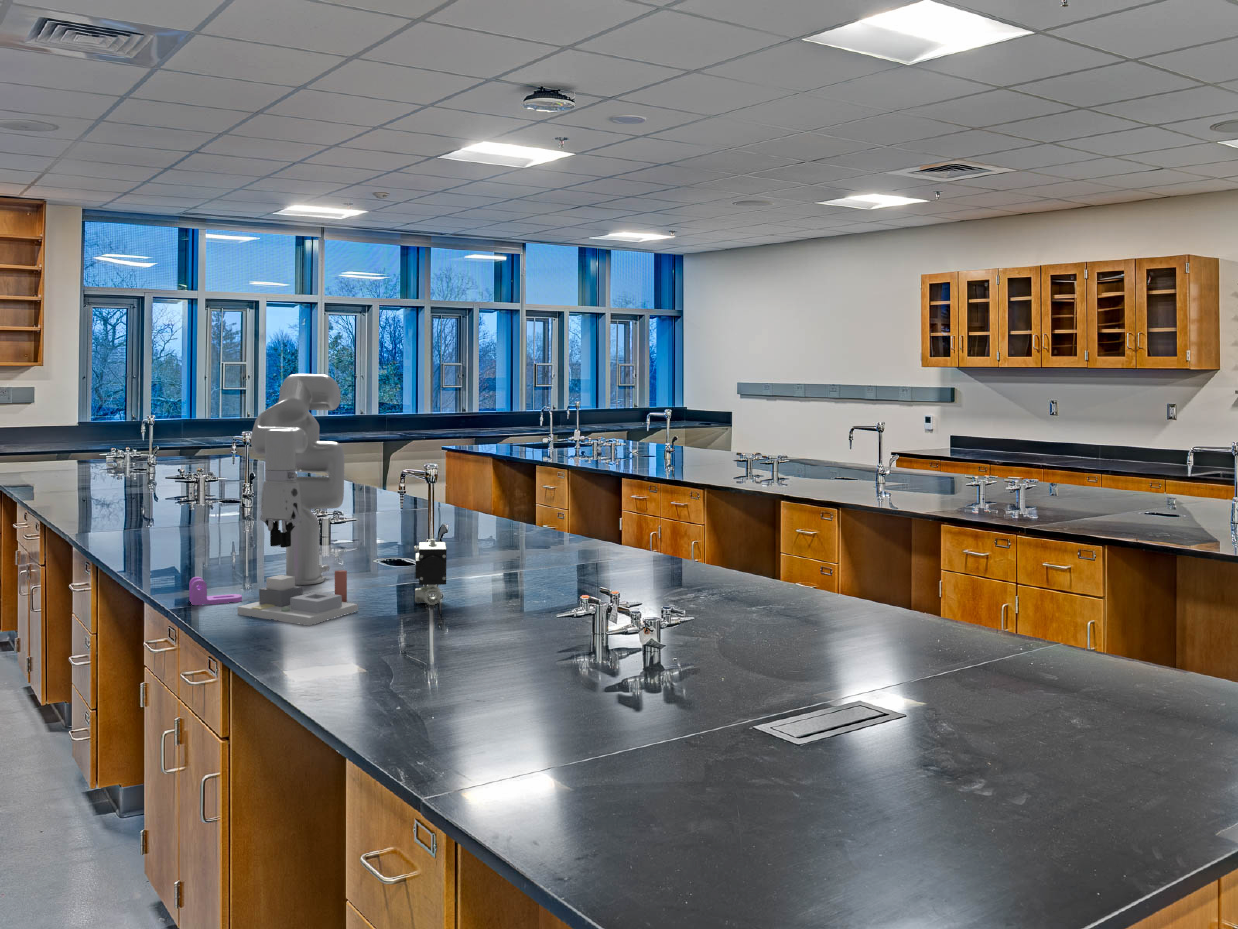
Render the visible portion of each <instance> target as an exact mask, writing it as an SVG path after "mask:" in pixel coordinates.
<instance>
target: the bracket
mask: <svg viewBox="0 0 1238 929" xmlns="http://www.w3.org/2000/svg"><path fill="white" fill-rule="evenodd" d="M188 584H189V587H188V588H189V590H188V591H189V594H188V597H189V598H188V599H189V601H190V602H191V604H192V605H199V606H203V605H202V604H212V605H220V604H219V603H224V604H229V603H228V602H235V603H240V602H242V600H243V595H242V594H239V593H231V594H229V593H228V594H217V595H208V586H207V583H206V581H205V580H204V579H203V578H202V577H201V576H194V577H192V578H191V579H190V580H189V583H188ZM189 601H188V602H189ZM190 602H189V603H190ZM217 603H218V604H217ZM191 604H190V605H191ZM192 605H191V606H192Z"/></svg>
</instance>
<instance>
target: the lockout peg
mask: <svg viewBox="0 0 1238 929" xmlns="http://www.w3.org/2000/svg"><path fill="white" fill-rule="evenodd" d="M334 594H336V595H342V602H346V603H348V570H346V569H345V570H344V569H343V570H342V569H338V570H335V571H334Z"/></svg>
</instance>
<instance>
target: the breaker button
mask: <svg viewBox="0 0 1238 929" xmlns="http://www.w3.org/2000/svg"><path fill="white" fill-rule="evenodd" d="M295 586H296V585H295V577H293V576H286V574H285V575H283V574H278V575H273V576H269V577H266V587H267V589H272V590H279V591H283V590H287V589H291V588H295Z"/></svg>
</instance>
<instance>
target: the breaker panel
mask: <svg viewBox="0 0 1238 929" xmlns="http://www.w3.org/2000/svg"><path fill="white" fill-rule="evenodd" d="M258 599H259V600H258V601H255V602H251V603H248V604H242V605H239V606H237V615H240V616H246V617H251V616H252V617H254V618H258V619H265V620H271V619H274V620H273V621H277V620H279V622H284V623H290V624H296V623H300V624H299V625H302V624H305V625H304V626H309V625H310V626H313V625H312V624H314V625H316V624H315V623H317V624H320V622H321V623H324V622H326V621H325V620H327V619H331V620H333V619H332V618H334V617H337V616H341V615H344V614H347V613H351V614H353V613H352V612H354V611H357V610H358V611H359V609H358V608H359V606H358V605H359V604H358V603H353V602H347V603H346V602H342V595H336V594H335V593H328V592H321V591H320V592H319V591H312V592H309V593H305V594H303V586H300V585H295V588H291V589H287V590H283V591H279V590H272V589H267V586H266V587H260V588H259V589H258ZM341 617H342V616H341ZM334 619H335V618H334ZM323 621H324V622H323ZM327 621H328V620H327Z"/></svg>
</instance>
